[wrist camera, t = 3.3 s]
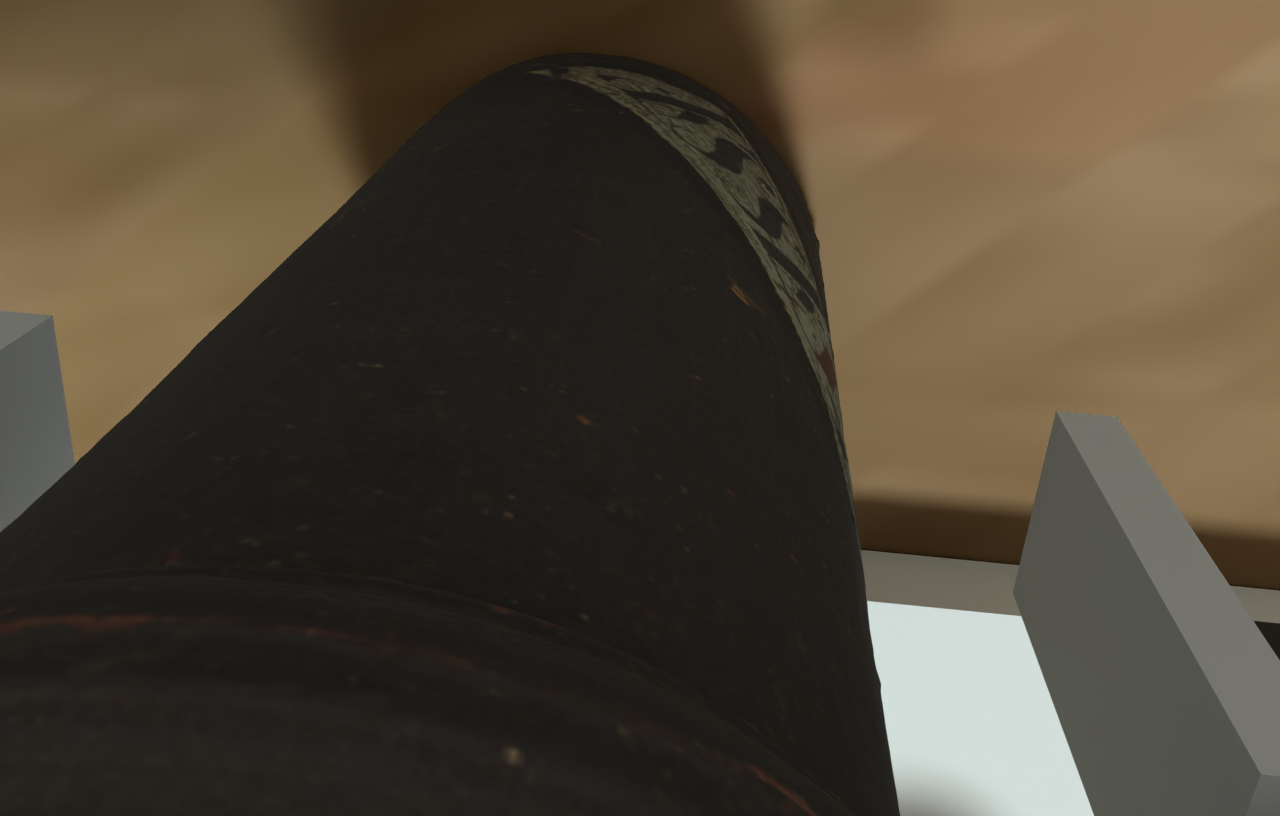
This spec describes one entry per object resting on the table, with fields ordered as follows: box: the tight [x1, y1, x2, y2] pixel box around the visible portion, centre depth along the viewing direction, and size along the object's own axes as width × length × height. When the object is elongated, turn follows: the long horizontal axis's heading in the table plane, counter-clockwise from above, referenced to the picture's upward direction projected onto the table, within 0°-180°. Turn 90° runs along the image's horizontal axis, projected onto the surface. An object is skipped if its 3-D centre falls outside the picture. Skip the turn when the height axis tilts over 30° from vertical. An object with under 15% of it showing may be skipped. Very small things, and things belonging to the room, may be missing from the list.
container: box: [0, 53, 900, 816], centre depth 15 cm, size 9×9×20 cm
